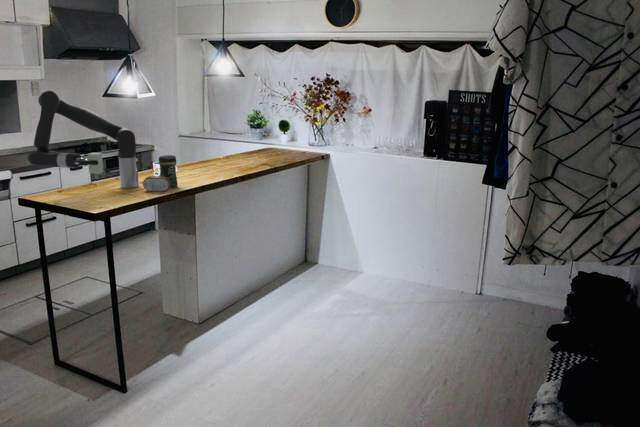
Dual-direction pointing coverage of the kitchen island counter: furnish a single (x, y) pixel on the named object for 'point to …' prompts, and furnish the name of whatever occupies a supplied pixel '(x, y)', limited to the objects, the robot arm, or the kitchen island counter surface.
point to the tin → (157, 184)
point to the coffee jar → (168, 168)
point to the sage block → (96, 168)
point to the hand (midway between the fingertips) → (100, 161)
